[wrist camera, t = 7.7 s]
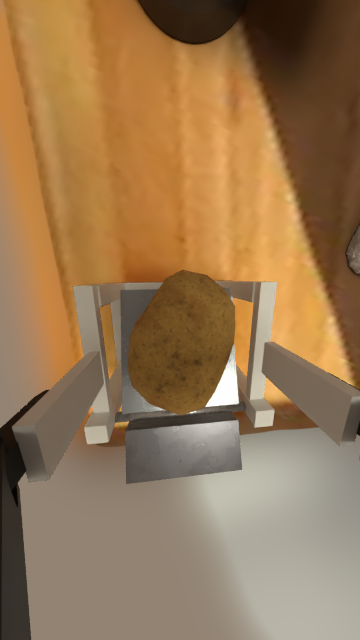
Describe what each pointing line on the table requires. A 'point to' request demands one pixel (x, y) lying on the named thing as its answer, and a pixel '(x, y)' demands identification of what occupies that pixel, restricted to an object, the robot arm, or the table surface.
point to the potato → (182, 343)
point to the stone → (354, 252)
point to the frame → (92, 340)
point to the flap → (176, 419)
